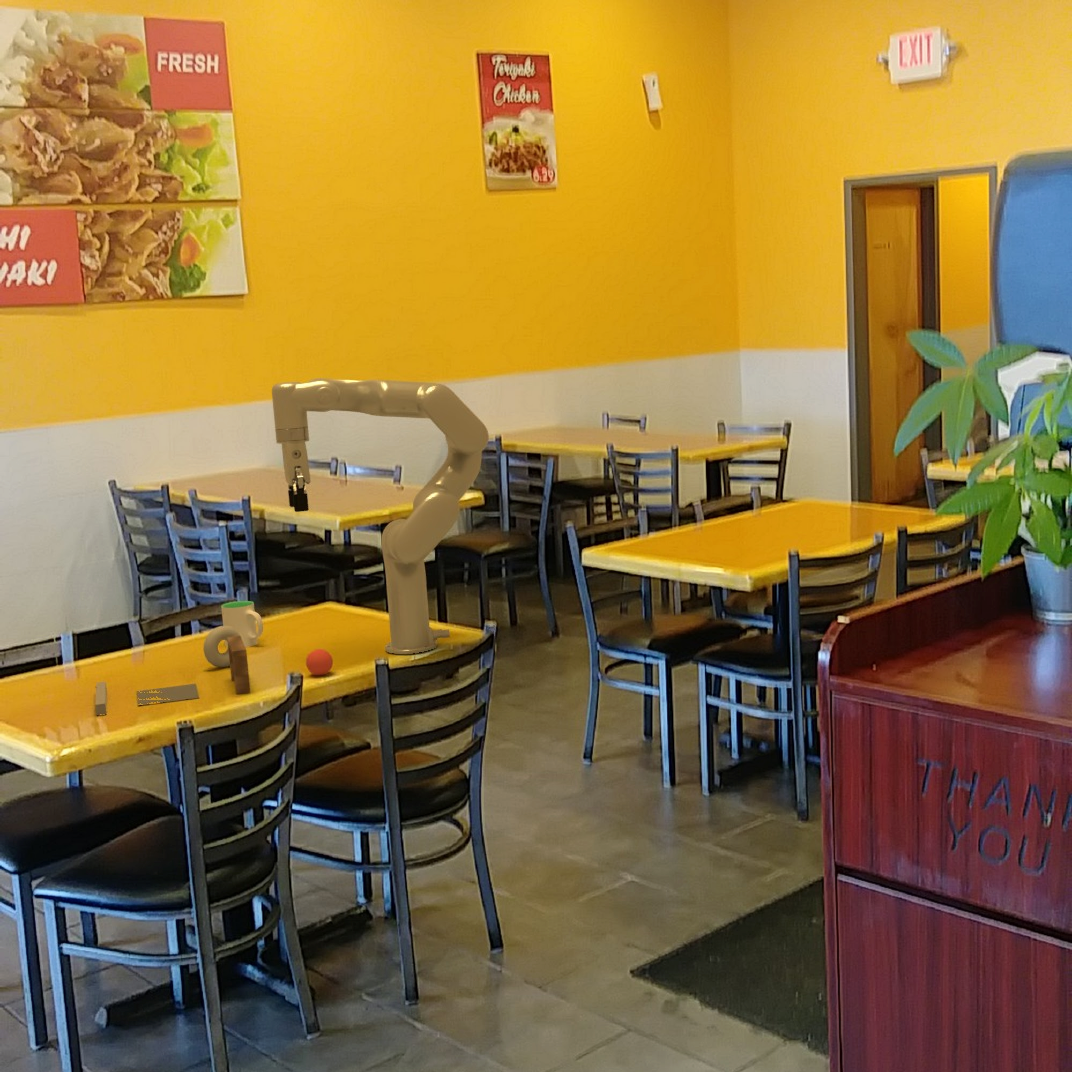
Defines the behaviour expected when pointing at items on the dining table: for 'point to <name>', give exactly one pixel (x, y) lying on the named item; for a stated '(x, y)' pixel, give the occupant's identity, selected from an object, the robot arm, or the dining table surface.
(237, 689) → the bridge
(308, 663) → the ball
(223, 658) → the donut
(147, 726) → the dining table surface
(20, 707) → the dining table surface
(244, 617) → the mug
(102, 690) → the stopper wall
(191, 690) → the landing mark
